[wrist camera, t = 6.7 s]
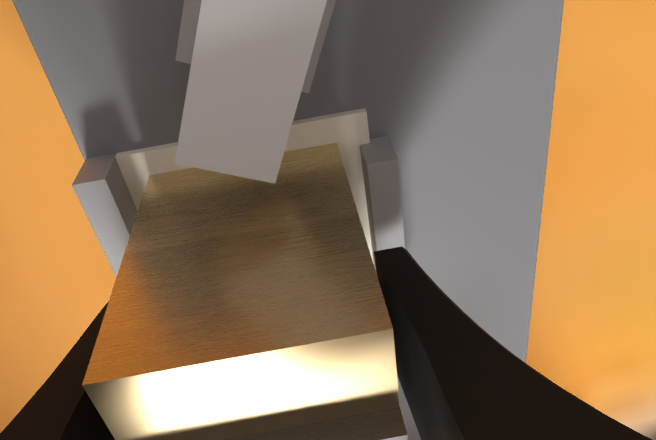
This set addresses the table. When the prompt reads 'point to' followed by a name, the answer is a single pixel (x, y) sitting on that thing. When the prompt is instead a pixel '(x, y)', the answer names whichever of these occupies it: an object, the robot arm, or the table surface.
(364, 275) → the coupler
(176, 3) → the shaft stand
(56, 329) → the table surface
